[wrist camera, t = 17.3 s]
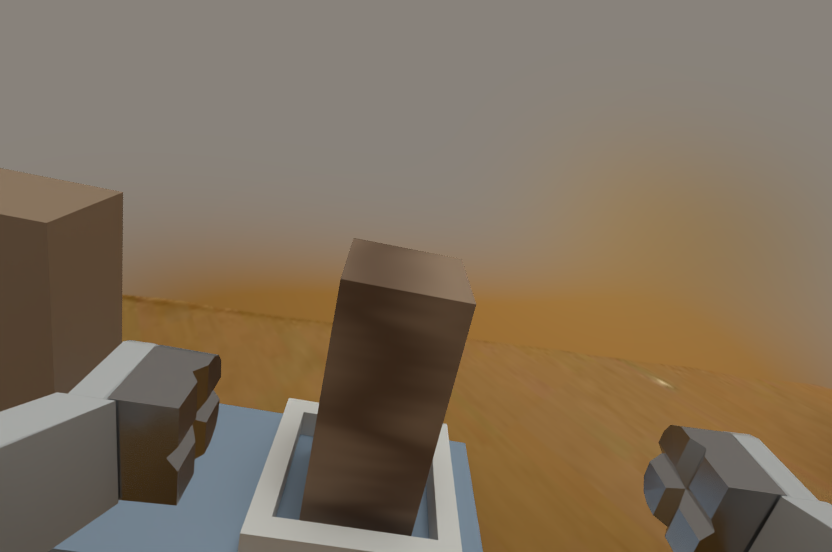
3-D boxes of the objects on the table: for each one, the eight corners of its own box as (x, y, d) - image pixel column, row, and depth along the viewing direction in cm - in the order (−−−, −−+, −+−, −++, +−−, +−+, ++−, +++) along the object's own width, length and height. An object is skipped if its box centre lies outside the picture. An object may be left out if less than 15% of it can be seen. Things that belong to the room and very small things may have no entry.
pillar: (408, 464, 28) (461, 259, 23) (409, 543, 23) (476, 304, 19) (316, 450, 27) (353, 238, 23) (297, 527, 22) (340, 278, 18)
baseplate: (461, 456, 31) (522, 255, 26) (485, 622, 21) (587, 354, 17) (32, 388, 28) (17, 154, 24) (-151, 541, 19) (-234, 204, 14)
